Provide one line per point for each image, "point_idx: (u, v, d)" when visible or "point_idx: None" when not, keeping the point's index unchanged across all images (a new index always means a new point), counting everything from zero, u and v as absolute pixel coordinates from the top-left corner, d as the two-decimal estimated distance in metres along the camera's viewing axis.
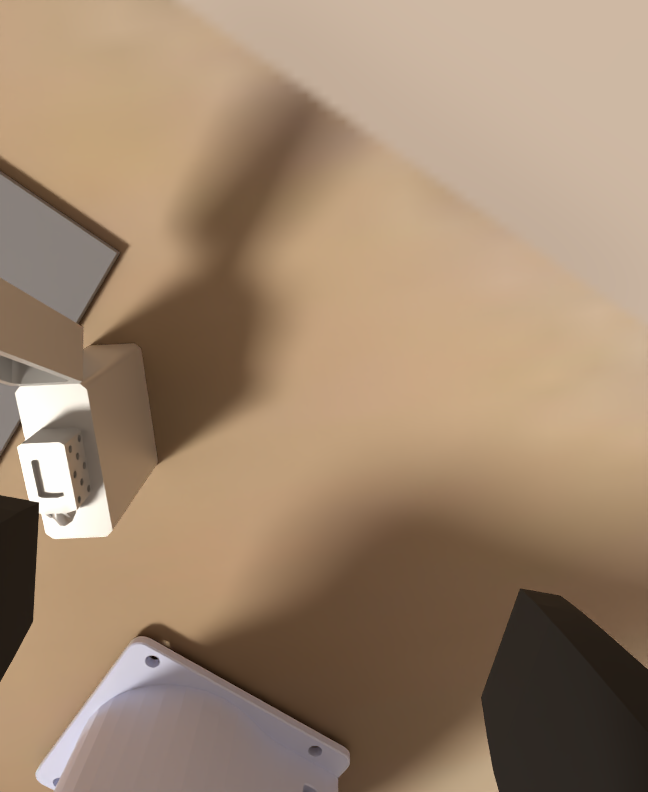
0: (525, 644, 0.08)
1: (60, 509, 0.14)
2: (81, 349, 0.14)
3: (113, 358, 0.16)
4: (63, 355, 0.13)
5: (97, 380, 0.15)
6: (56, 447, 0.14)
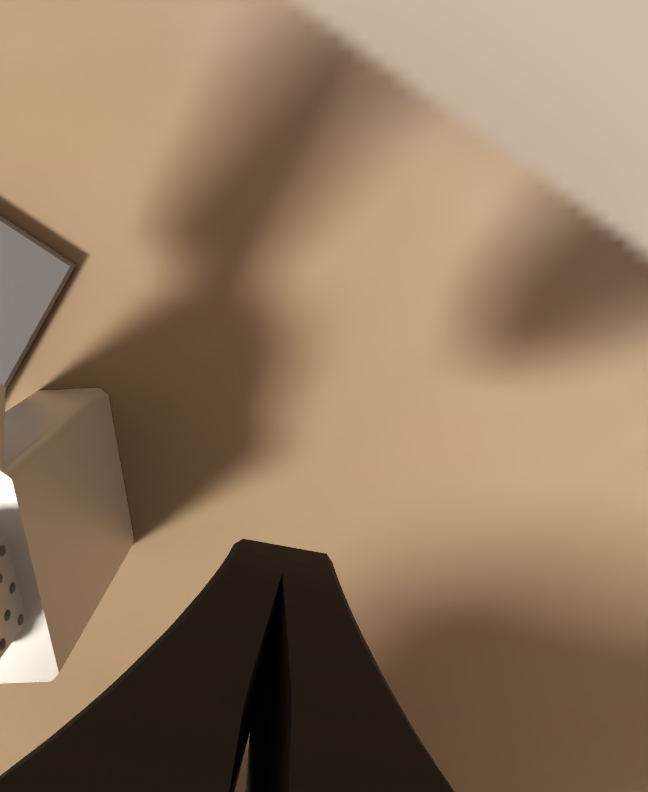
0: None
1: None
2: (1, 420, 0.09)
3: (63, 416, 0.12)
4: None
5: (33, 458, 0.10)
6: None
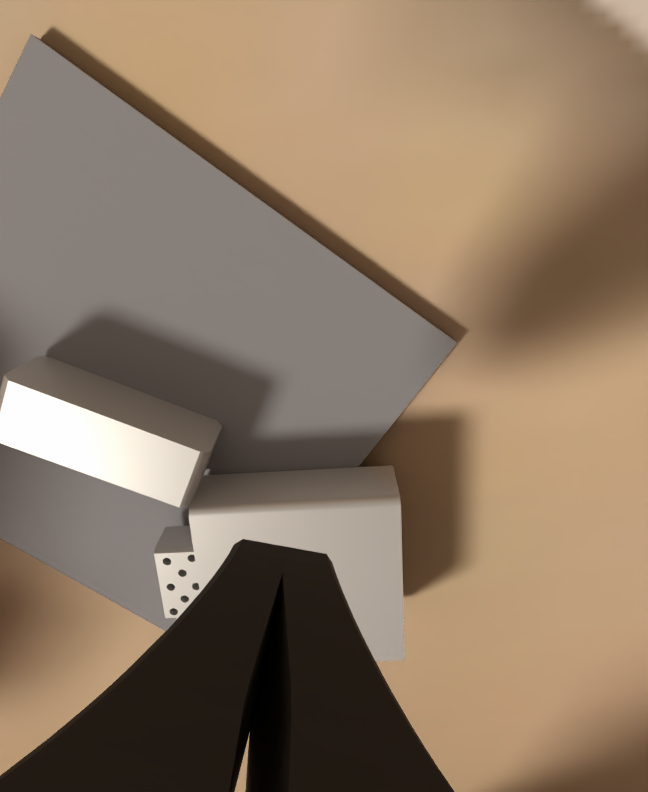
0: None
1: None
2: (186, 474, 0.12)
3: (306, 499, 0.12)
4: (138, 472, 0.12)
5: (224, 514, 0.12)
6: None
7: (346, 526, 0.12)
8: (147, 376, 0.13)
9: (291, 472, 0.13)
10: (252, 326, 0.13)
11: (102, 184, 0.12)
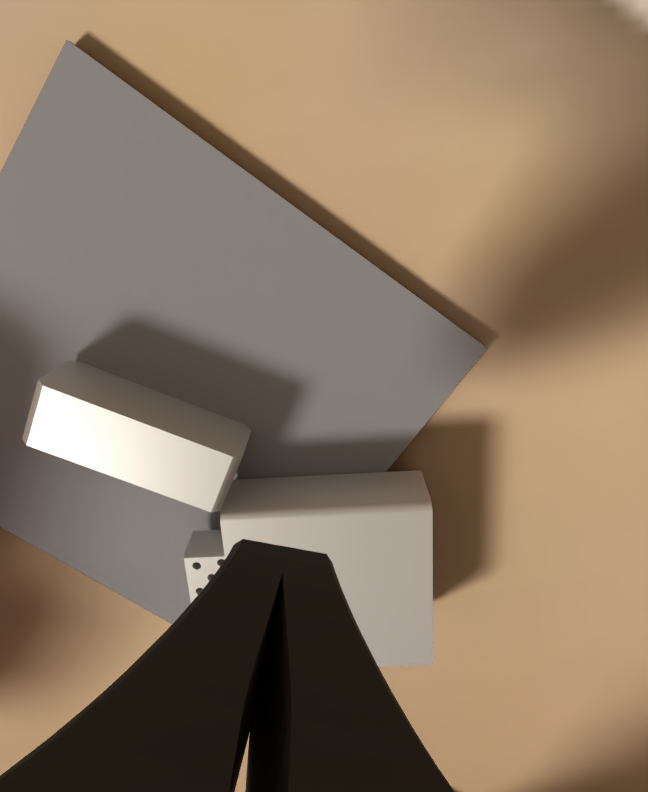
0: None
1: None
2: (218, 479, 0.12)
3: (338, 504, 0.12)
4: (170, 477, 0.12)
5: (256, 519, 0.12)
6: None
7: (377, 531, 0.12)
8: (177, 381, 0.13)
9: (319, 477, 0.13)
10: (282, 330, 0.13)
11: (135, 189, 0.12)
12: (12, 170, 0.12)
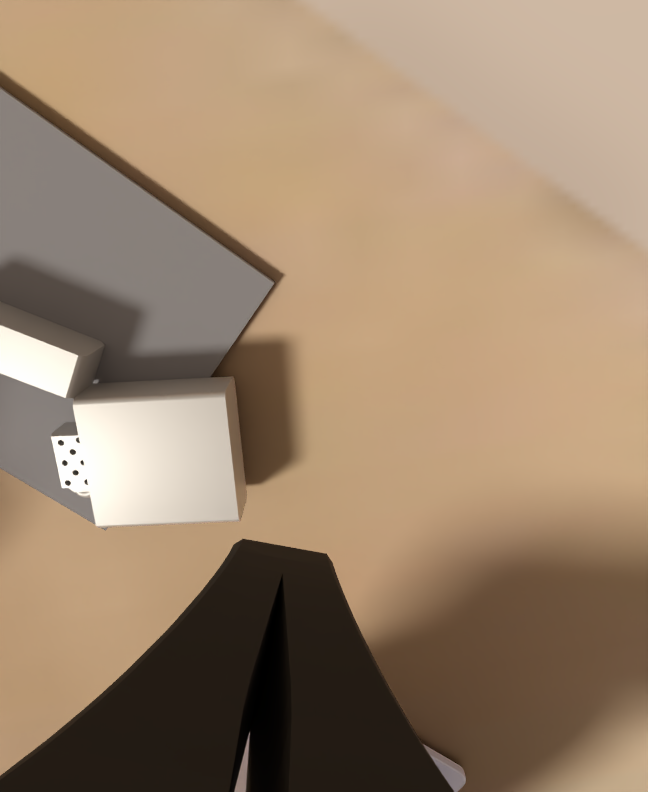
0: None
1: (70, 482, 0.18)
2: (69, 372, 0.16)
3: (158, 393, 0.17)
4: (34, 371, 0.16)
5: (98, 403, 0.17)
6: None
7: (187, 413, 0.17)
8: (49, 307, 0.18)
9: (157, 381, 0.18)
10: (123, 269, 0.17)
11: (10, 164, 0.16)
12: None
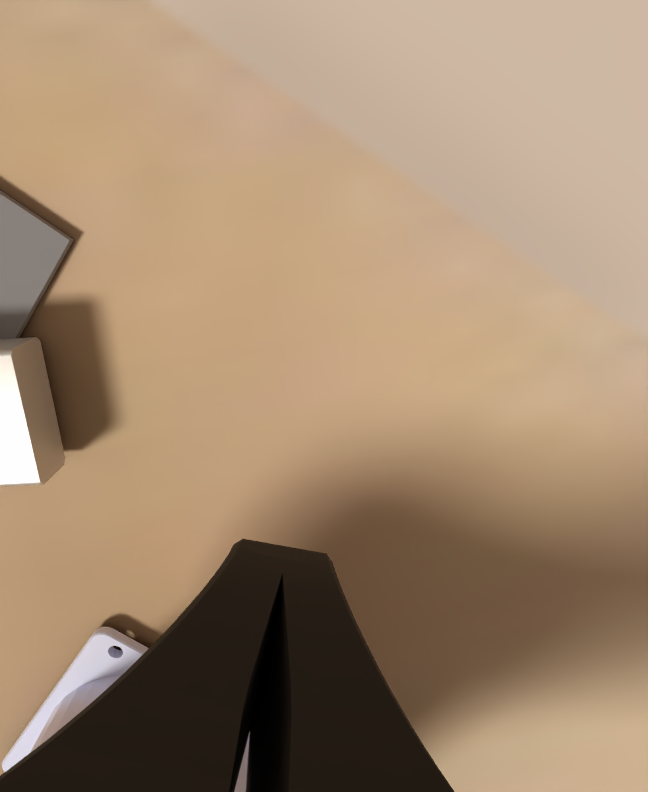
0: None
1: None
2: None
3: None
4: None
5: None
6: None
7: None
8: None
9: None
10: None
11: None
12: None
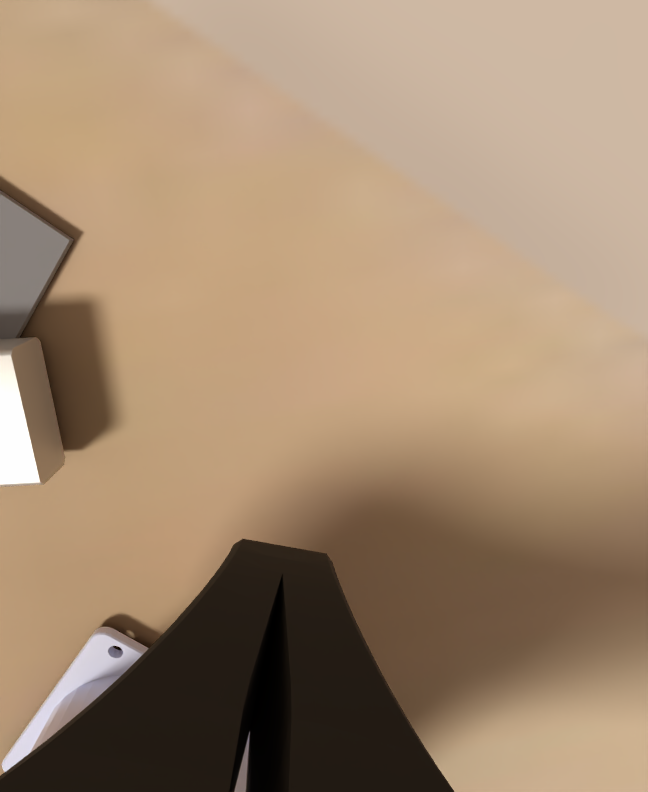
0: None
1: None
2: None
3: None
4: None
5: None
6: None
7: None
8: None
9: None
10: None
11: None
12: None
